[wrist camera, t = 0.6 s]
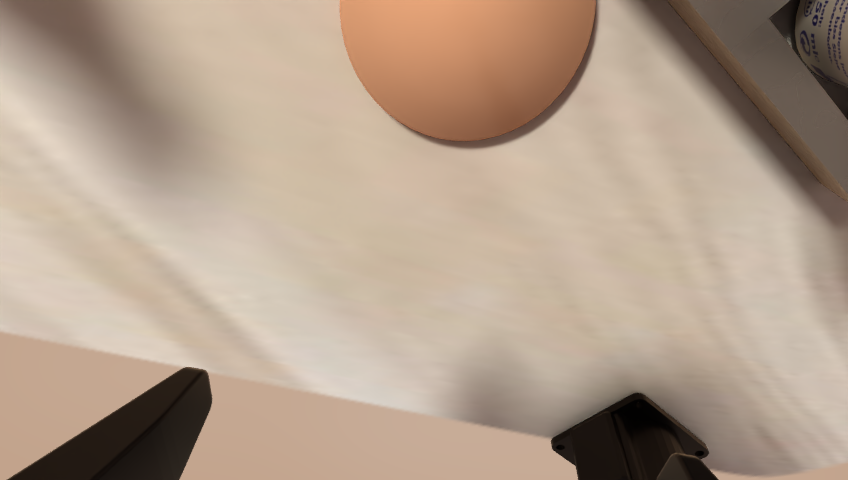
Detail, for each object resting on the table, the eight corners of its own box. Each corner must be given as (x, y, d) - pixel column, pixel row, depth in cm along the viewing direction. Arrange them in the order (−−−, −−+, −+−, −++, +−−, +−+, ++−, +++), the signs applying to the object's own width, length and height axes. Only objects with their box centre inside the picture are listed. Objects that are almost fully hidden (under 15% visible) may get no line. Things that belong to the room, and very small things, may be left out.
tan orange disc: (647, 4, 17) (652, 5, 16) (469, 177, 21) (469, 183, 20) (457, -217, 14) (456, -223, 14) (298, 29, 18) (293, 31, 18)
